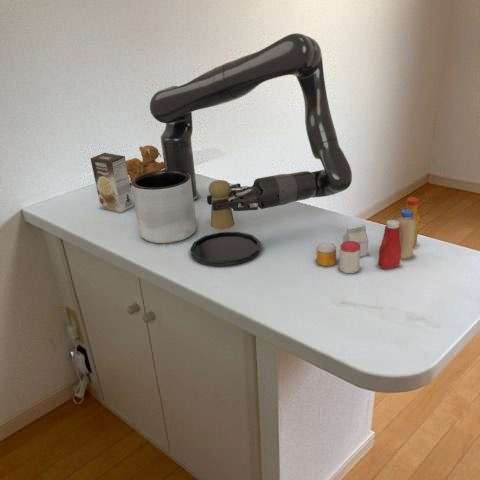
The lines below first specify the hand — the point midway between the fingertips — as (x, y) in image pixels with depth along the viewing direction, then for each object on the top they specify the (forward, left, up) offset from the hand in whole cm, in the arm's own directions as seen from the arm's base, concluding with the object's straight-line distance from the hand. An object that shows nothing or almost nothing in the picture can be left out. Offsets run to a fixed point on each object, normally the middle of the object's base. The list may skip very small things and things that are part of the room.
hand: (210, 203), depth 125 cm
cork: (+1, +2, -6) cm, 7 cm away
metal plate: (+2, +2, -13) cm, 14 cm away
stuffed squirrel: (-54, +30, -13) cm, 64 cm away
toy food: (+36, +16, -13) cm, 41 cm away
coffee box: (-48, +10, -13) cm, 51 cm away
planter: (-19, +3, -13) cm, 24 cm away
